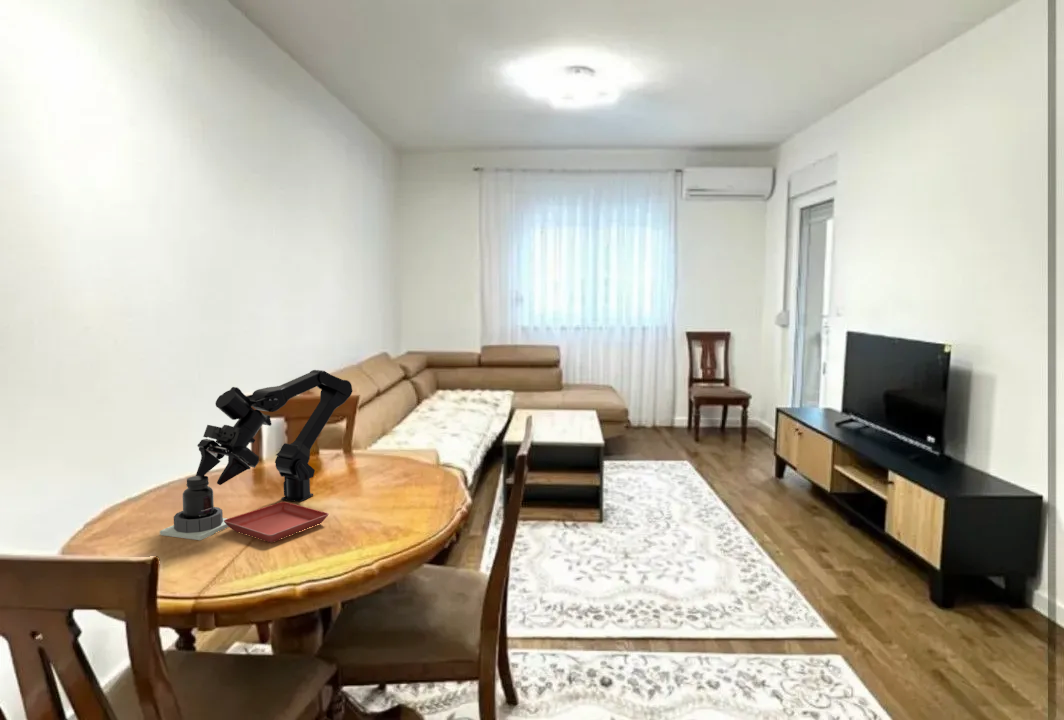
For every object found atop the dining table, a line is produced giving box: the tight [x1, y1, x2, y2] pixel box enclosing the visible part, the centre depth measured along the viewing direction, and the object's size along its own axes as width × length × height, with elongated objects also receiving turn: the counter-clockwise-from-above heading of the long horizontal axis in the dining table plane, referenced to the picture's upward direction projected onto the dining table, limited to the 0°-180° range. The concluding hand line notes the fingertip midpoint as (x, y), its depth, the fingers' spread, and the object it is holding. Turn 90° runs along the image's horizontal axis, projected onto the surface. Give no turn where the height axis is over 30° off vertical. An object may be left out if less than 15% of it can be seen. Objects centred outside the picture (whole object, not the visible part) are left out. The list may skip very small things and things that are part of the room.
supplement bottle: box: [182, 475, 215, 520], centre depth 161 cm, size 7×7×12 cm
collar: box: [173, 506, 224, 533], centre depth 161 cm, size 10×10×3 cm
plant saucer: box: [224, 501, 329, 543], centre depth 163 cm, size 18×18×3 cm
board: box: [159, 517, 230, 541], centre depth 162 cm, size 12×12×1 cm
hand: (207, 481), depth 163 cm, fingers open, 9 cm apart
